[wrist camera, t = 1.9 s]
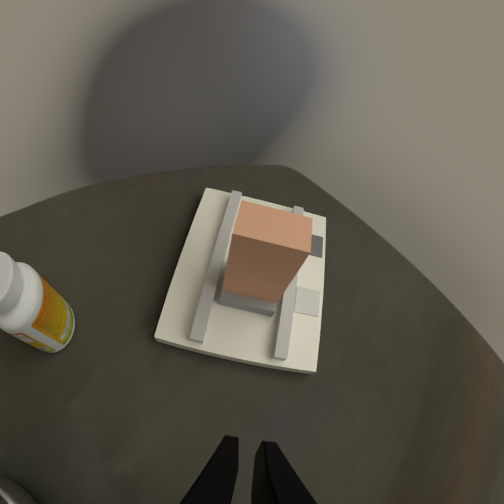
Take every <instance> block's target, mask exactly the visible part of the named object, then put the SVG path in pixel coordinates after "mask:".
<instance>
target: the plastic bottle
mask: <svg viewBox="0 0 504 504" xmlns="http://www.w3.org/2000/svg"><path fill="white" fill-rule="evenodd" d="M0 504H37V502H36V501H35V500H34V498H33V497H32V496H31V495H30V494H29V493H28V492H27V491H26V490H25V489H24V488H22V487H21V486H19V485H18V484H16V483H15V482H13V481H11V480H8V479H3V478H0Z"/></svg>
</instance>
